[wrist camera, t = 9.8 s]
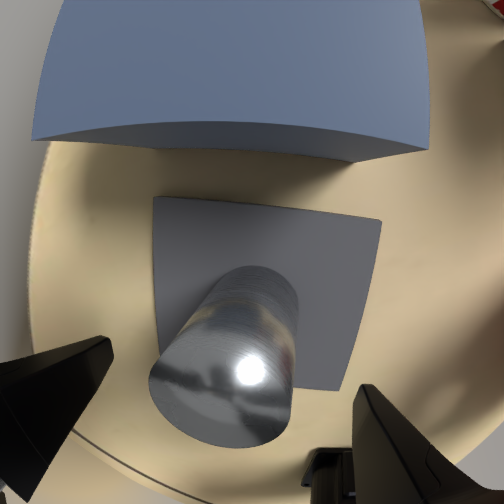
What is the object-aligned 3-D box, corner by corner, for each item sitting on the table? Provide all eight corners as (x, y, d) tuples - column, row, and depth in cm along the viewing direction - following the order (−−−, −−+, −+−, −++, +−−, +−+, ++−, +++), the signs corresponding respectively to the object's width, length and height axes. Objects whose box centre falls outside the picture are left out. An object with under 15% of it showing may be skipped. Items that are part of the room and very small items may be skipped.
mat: (338, 384, 15) (338, 391, 15) (164, 356, 17) (160, 361, 16) (378, 219, 13) (382, 221, 12) (159, 196, 14) (153, 197, 14)
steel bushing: (305, 271, 13) (303, 364, 7) (292, 349, 14) (278, 456, 8) (213, 259, 14) (140, 332, 7) (211, 336, 15) (157, 429, 8)
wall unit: (355, 162, 12) (428, 149, 5) (153, 148, 13) (31, 140, 6) (359, 60, 11) (409, -36, 3) (164, 56, 12) (66, -6, 4)
